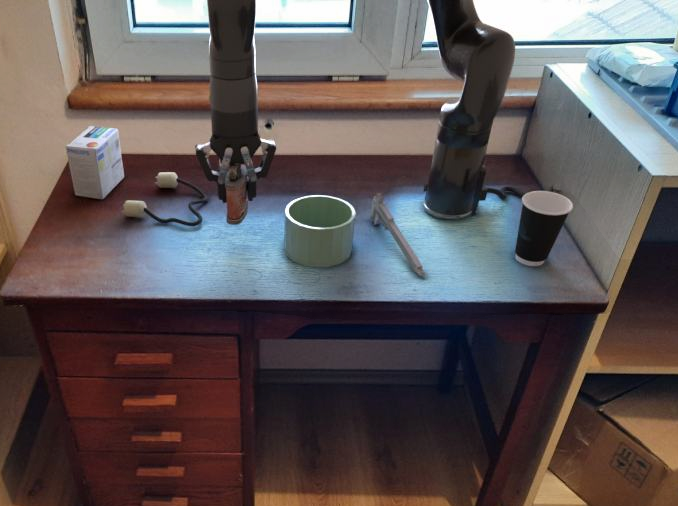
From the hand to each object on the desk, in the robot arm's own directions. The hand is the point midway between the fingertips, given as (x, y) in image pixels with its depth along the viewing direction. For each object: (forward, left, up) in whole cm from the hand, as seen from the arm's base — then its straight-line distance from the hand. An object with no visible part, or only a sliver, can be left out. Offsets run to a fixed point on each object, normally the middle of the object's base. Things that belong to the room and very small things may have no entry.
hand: (237, 199), depth 115 cm
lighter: (0, 0, -3) cm, 3 cm away
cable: (+11, -15, -8) cm, 20 cm away
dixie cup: (-50, +13, -8) cm, 52 cm away
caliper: (-28, +6, -8) cm, 30 cm away
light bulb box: (+26, -25, -8) cm, 37 cm away
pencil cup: (-14, +5, -8) cm, 17 cm away
